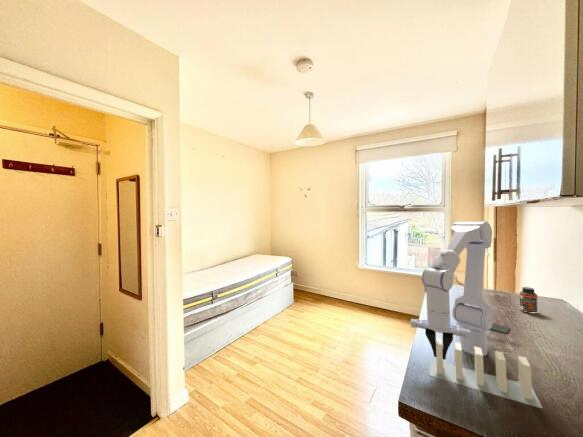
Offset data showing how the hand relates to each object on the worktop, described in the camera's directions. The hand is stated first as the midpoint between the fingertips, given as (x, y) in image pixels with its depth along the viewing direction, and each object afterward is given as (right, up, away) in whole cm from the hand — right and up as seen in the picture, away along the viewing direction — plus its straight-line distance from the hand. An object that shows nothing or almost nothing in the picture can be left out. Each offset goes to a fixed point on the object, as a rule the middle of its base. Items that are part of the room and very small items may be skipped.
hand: (439, 356), depth 69 cm
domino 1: (+4, -4, -3) cm, 6 cm away
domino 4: (+15, -3, -10) cm, 18 cm away
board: (+7, -5, -5) cm, 10 cm away
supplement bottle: (+69, -4, +43) cm, 82 cm away
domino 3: (+11, -3, -7) cm, 14 cm away
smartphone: (+38, -5, +30) cm, 49 cm away
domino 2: (+8, -4, -5) cm, 10 cm away
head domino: (0, -4, 0) cm, 4 cm away
